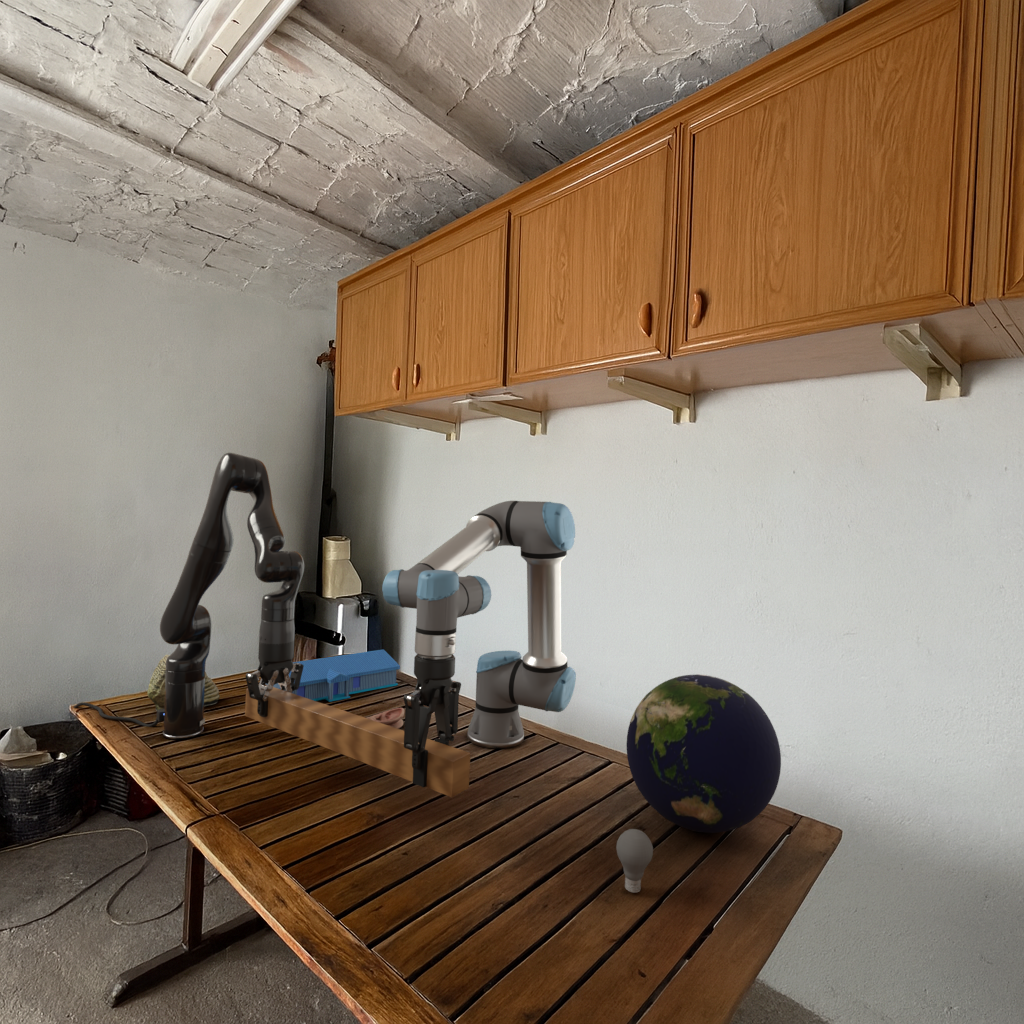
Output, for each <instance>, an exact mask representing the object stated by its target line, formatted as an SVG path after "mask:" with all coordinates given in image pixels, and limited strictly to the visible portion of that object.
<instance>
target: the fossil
mask: <svg viewBox="0 0 1024 1024" xmlns="http://www.w3.org/2000/svg"><path fill="white" fill-rule="evenodd" d="M170 655H171V654H165V655H164V656H163V657H162V658H161V659H160V660H159V662H158V663H157V666H156V667H155V669H154V670H153V672H152V675H151V677H150V680H149V684H148V688H147V697H148V699H149V700H150V701H152V703H153V704H154V706H155V711H157V710H159V709H164V705H165V674H166V660H167V658H168V657H169V656H170ZM220 698H221V696H220V690H219V688H218V686H217V685H216V683H215V682H214V681H213V679H212V678H211V677H209V675H208V674H207V672H206V671H205V693H204V707H207V706H213V705H215V704H217V703H218V701H219V699H220Z"/></svg>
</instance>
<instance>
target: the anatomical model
mask: <svg viewBox="0 0 1024 1024" xmlns="http://www.w3.org/2000/svg"><path fill="white" fill-rule="evenodd" d="M403 717H405V709H404V708H403V707H396V708H392V709H389V710H385V711H382V712H379V713H376V714H374V715H371V716H366V718H367V719H370V720H373V721H376V722H379V723H382V724H385V725H388V726H391V727H394V728H397V729H400V728H402V727H404V720H403V719H402V718H403Z"/></svg>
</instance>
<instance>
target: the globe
mask: <svg viewBox="0 0 1024 1024" xmlns="http://www.w3.org/2000/svg"><path fill="white" fill-rule="evenodd" d="M627 729H628V730H627V734H626V757H627V763H628V767H629V771H630V773H631V776H632V779H633V781H634V783H635V786H636V787H637V790H638V791H639V793H640V794H641V795H642V797H643V798H644V800H645V801H646V802H647V803H648V804H649V806H651V807H652V809H654V810H655V812H657V813H658V814H659V815H660V816H662V817H663V818H664V819H666V820H667V821H669V822H671V823H673V824H675V825H676V826H678V827H680V828H683V829H686V830H690V831H692V832H696V833H703V834H704V833H705V834H717V833H718V834H719V833H725V832H730V831H733V830H736V829H739V828H741V827H744V826H745V825H747V824H749V823H750V822H752V821H753V820H754V819H756V818H757V817H758V816H760V814H761V813H762V812H763V811H764V810H765V809H766V808H767V806H768V805H769V803H770V802H771V800H772V799H773V798H774V795H775V793H776V791H777V788H778V785H779V781H780V775H781V770H782V769H781V768H782V757H781V756H782V755H781V748H780V742H779V739H778V735H777V732H776V730H775V728H774V725H773V723H772V721H771V719H770V718H769V716H768V714H767V713H766V711H765V710H764V709H763V707H762V706H761V704H759V702H757V700H755V698H754V697H753V696H752V695H750V694H749V693H748V692H746V691H745V690H744V689H742V688H741V687H739V686H737V684H734V683H731V682H729V681H728V680H726V679H723V678H721V677H716V676H712V675H708V674H702V673H700V674H697V673H696V674H685V675H679V676H676V677H673V678H672V677H671V678H670V679H667V680H665V681H663V682H662V683H659V684H658V685H656V686H655V687H654V688H652V689H651V690H650V691H649V692H647V693H646V694H645V695H644V697H643V698H642V699H641V701H640V702H638V705H637V706H636V708H635V709H634V712H633V714H632V716H631V718H630V721H629V725H628V728H627Z"/></svg>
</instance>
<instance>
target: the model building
mask: <svg viewBox="0 0 1024 1024" xmlns="http://www.w3.org/2000/svg"><path fill="white" fill-rule="evenodd" d="M292 662H293V663H300V664H303V665H304V667H303V672H302V676H301V680H300V684H299V688H298V690H294V691H293V692H292V693H293V694H296V695H299V696H302V697H305V698H308V699H311V700H314V701H317V702H319V701H323V700H325V701H327V702H329V703H330V702H335V701H341V700H346V699H347V700H348V699H350V698H351V695H353V694H359V693H364V692H365V693H366V692H369V691H373V690H381V689H385V688H390V687H391V688H392V687H395V686H399V683H398V682H397V670H400V669H401V665H400V664H399V663H398V662H397V661H396V660H395V659H394V658H393V657H392V656H391V654H389V653H388V652H387V651H386V650H385V649H376V650H368V651H363V652H356V653H349V654H342V655H341V654H340V655H335V656H329V657H328V656H327V657H321V658H315V659H314V658H313V659H307V660H300V661H292ZM290 675H291V671H290V673H289V677H290ZM294 682H295V681H294ZM266 685H268V684H266ZM273 687H275V688H278V689H281V688H280V685H279V684H278V683H277V684H275V685H274V686H273Z"/></svg>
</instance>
